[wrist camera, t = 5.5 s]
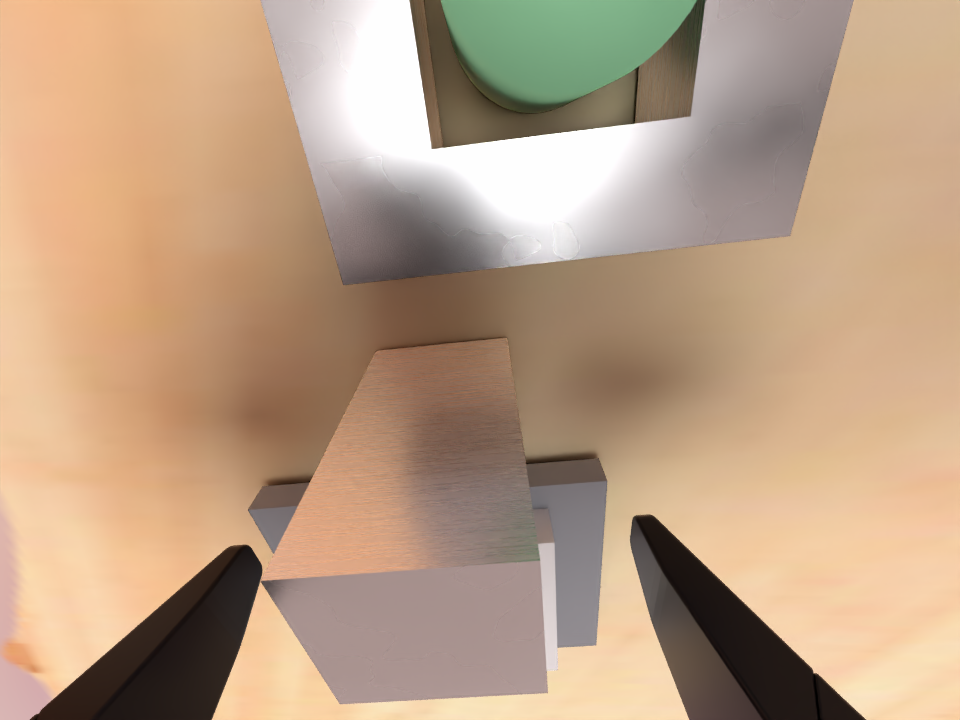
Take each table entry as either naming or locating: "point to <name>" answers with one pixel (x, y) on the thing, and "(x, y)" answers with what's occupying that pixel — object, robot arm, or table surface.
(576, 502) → the grey slotted socket base
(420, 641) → the block
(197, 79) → the table surface
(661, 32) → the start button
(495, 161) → the square peg board
